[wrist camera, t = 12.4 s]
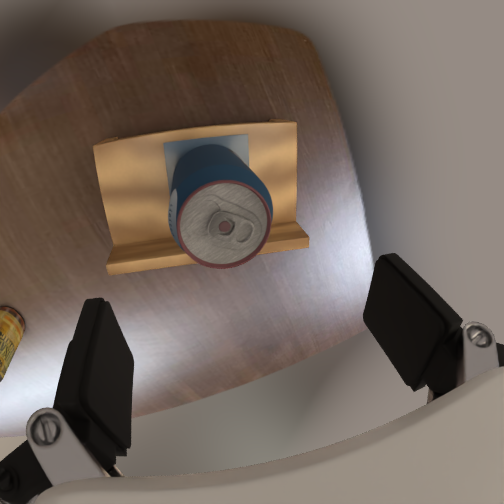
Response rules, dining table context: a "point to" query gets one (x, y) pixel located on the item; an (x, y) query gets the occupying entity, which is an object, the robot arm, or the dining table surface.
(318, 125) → the dining table surface
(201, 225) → the soda can
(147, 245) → the wooden block with lip
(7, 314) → the sauce bottle
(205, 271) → the dining table surface
